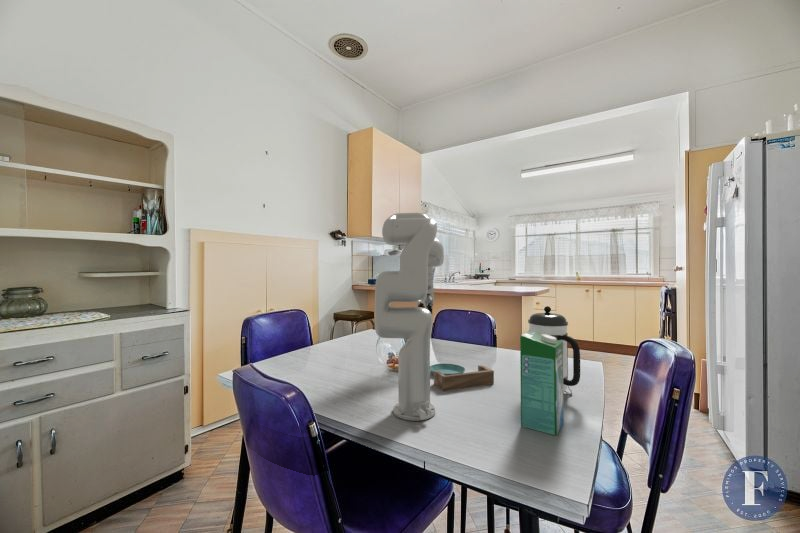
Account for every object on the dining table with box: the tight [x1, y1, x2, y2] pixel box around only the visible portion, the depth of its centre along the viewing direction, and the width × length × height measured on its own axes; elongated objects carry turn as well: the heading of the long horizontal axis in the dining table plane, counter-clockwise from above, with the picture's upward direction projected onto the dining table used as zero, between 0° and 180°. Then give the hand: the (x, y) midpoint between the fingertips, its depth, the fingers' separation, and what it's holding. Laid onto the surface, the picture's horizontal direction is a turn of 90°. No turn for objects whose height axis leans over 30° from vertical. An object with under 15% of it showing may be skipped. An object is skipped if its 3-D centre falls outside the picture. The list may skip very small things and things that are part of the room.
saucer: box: [430, 363, 466, 375], centre depth 136 cm, size 15×15×3 cm
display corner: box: [433, 364, 495, 392], centre depth 124 cm, size 8×21×5 cm, turn 111°
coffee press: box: [527, 306, 581, 396], centre depth 115 cm, size 17×16×30 cm
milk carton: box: [519, 330, 565, 436], centre depth 92 cm, size 9×9×25 cm
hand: (424, 316), depth 148 cm, fingers open, 9 cm apart
